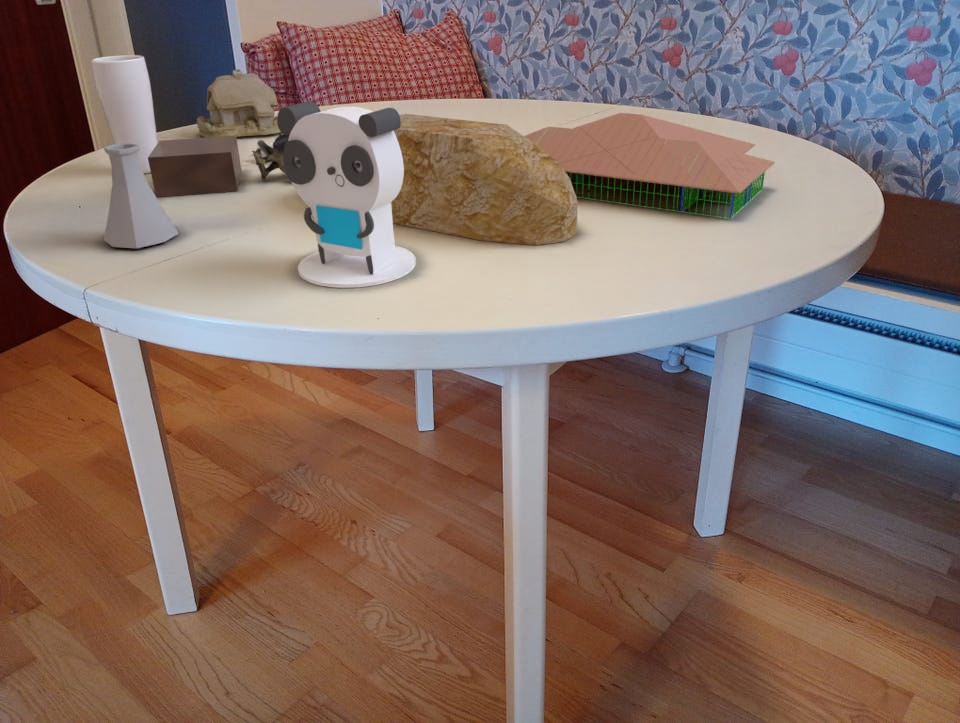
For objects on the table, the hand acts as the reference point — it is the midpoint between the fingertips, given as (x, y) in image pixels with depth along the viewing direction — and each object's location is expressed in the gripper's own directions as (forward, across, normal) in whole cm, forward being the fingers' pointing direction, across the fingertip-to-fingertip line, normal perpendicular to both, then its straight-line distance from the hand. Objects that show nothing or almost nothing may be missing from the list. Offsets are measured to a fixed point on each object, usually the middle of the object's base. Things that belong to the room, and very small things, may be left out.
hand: (99, 1), depth 80 cm
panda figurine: (+24, -20, +18) cm, 36 cm away
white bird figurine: (+24, -15, -28) cm, 40 cm away
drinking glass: (+24, +3, -30) cm, 38 cm away
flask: (+24, +1, +2) cm, 24 cm away
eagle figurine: (+24, -17, -17) cm, 34 cm away
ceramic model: (+24, -12, -51) cm, 57 cm away
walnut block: (+23, -5, -19) cm, 31 cm away
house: (+24, -59, 0) cm, 63 cm away
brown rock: (+24, -31, +4) cm, 39 cm away
